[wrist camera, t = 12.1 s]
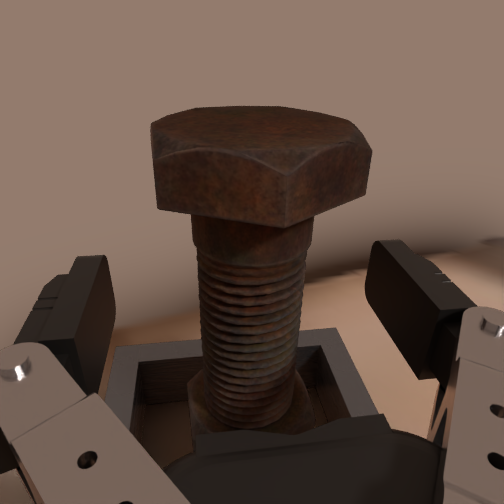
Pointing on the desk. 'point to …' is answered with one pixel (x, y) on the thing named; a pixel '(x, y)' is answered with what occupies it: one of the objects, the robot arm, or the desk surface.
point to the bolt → (253, 247)
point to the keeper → (190, 363)
